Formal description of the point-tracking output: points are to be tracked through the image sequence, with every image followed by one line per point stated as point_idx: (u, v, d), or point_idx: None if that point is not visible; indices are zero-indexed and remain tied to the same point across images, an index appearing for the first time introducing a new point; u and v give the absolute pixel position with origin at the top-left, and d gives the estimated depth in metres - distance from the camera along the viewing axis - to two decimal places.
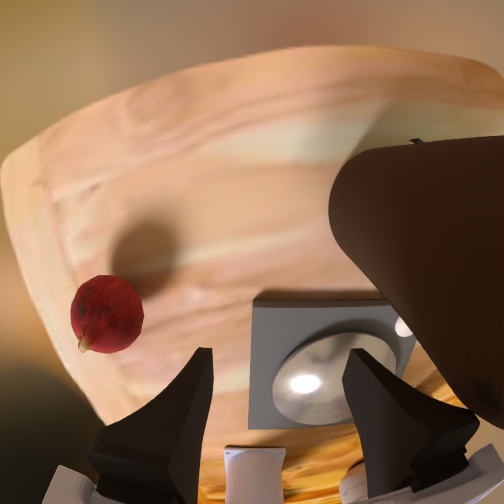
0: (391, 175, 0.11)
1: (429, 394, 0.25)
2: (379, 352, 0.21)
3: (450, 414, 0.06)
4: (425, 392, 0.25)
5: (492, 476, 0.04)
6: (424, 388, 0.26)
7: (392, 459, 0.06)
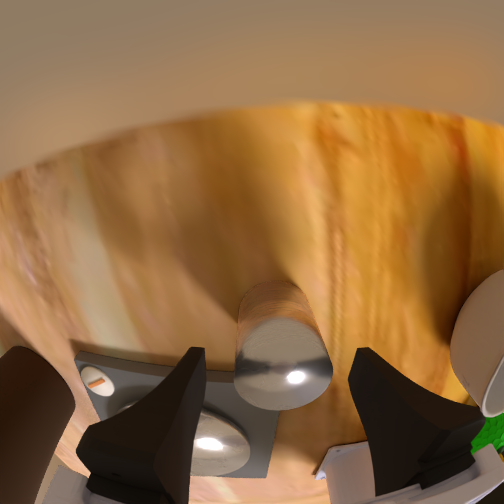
0: None
1: (241, 313, 0.15)
2: None
3: (457, 412, 0.06)
4: (238, 318, 0.16)
5: (492, 476, 0.04)
6: (240, 307, 0.16)
7: (400, 457, 0.06)
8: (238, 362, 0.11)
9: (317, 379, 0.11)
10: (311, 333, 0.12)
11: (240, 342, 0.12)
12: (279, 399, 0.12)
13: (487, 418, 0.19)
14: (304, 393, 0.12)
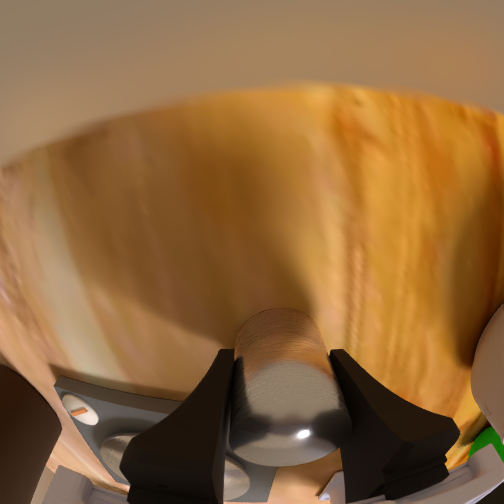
0: None
1: (238, 350, 0.12)
2: (115, 450, 0.14)
3: (427, 422, 0.06)
4: None
5: (492, 476, 0.04)
6: (237, 339, 0.13)
7: (367, 465, 0.06)
8: (234, 424, 0.08)
9: (333, 437, 0.08)
10: (327, 387, 0.08)
11: (236, 394, 0.09)
12: (285, 457, 0.08)
13: None
14: (315, 450, 0.08)
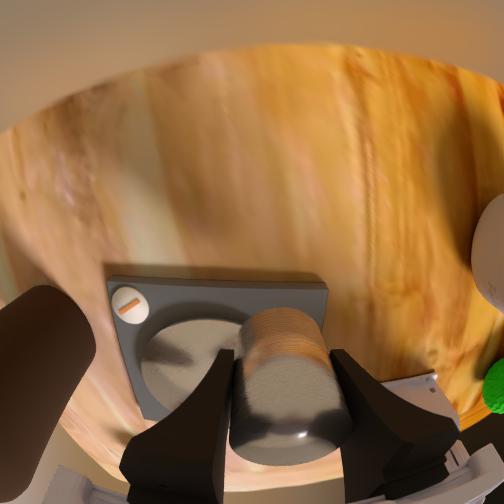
0: None
1: (238, 349, 0.12)
2: (160, 349, 0.19)
3: (427, 422, 0.06)
4: (235, 353, 0.12)
5: (492, 476, 0.04)
6: (237, 338, 0.13)
7: (367, 465, 0.06)
8: (234, 423, 0.08)
9: (333, 436, 0.08)
10: (328, 386, 0.08)
11: (237, 393, 0.09)
12: (285, 456, 0.08)
13: None
14: (315, 450, 0.08)
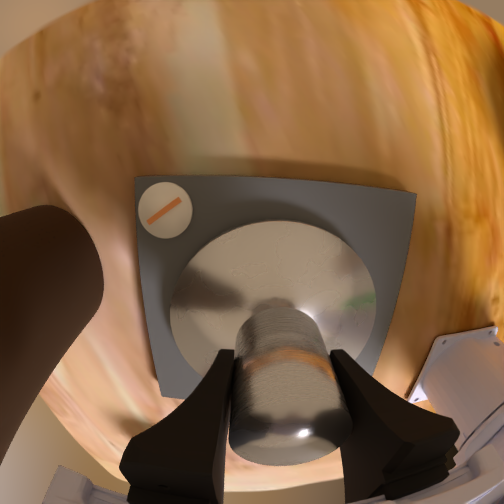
0: None
1: (238, 348, 0.12)
2: (204, 272, 0.14)
3: (428, 422, 0.06)
4: None
5: (492, 476, 0.04)
6: (237, 338, 0.13)
7: (367, 465, 0.06)
8: (234, 422, 0.08)
9: (333, 437, 0.08)
10: (328, 386, 0.08)
11: (237, 393, 0.09)
12: (285, 456, 0.08)
13: None
14: (315, 450, 0.08)
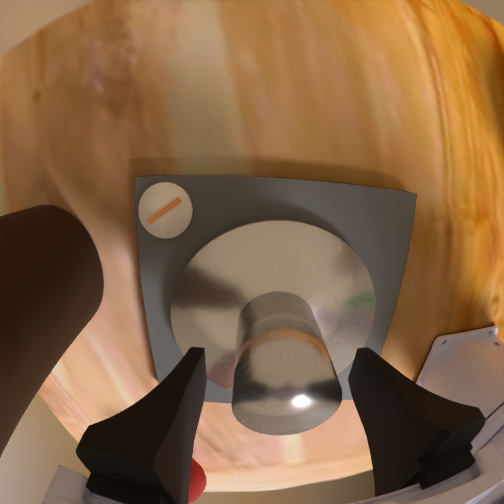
0: None
1: (240, 328, 0.14)
2: (205, 271, 0.14)
3: (458, 412, 0.06)
4: (237, 332, 0.14)
5: (492, 476, 0.04)
6: (239, 319, 0.15)
7: (400, 457, 0.06)
8: (237, 388, 0.10)
9: (325, 404, 0.10)
10: (319, 355, 0.10)
11: (239, 363, 0.11)
12: (282, 424, 0.10)
13: None
14: (309, 418, 0.10)
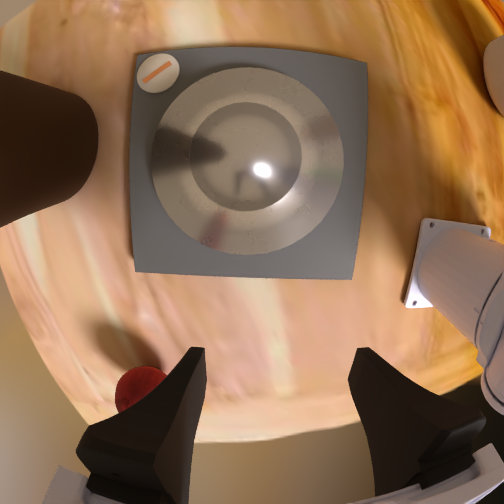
0: None
1: None
2: (184, 108, 0.15)
3: (458, 411, 0.06)
4: None
5: (492, 476, 0.04)
6: None
7: (400, 457, 0.06)
8: (195, 133, 0.10)
9: (285, 158, 0.10)
10: None
11: None
12: (242, 189, 0.11)
13: None
14: (271, 181, 0.11)
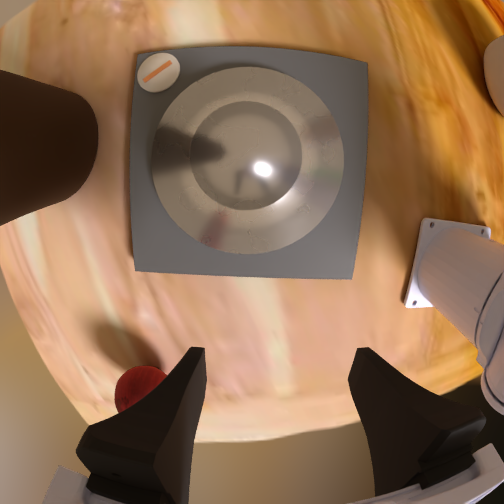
0: None
1: None
2: (185, 108, 0.15)
3: (458, 411, 0.06)
4: None
5: (492, 476, 0.04)
6: None
7: (400, 457, 0.06)
8: (196, 132, 0.10)
9: (285, 157, 0.10)
10: None
11: None
12: (242, 188, 0.11)
13: None
14: (271, 180, 0.11)
